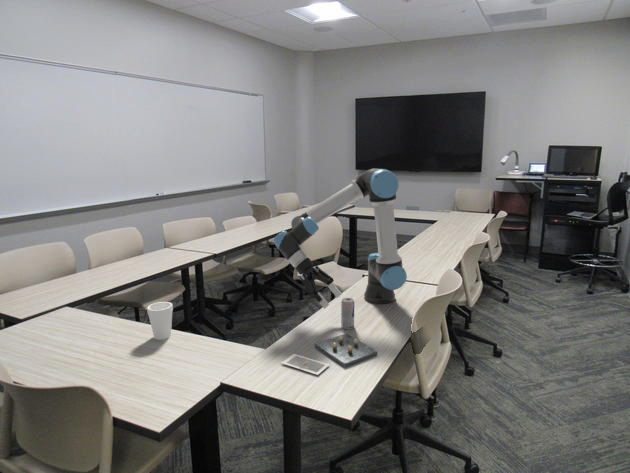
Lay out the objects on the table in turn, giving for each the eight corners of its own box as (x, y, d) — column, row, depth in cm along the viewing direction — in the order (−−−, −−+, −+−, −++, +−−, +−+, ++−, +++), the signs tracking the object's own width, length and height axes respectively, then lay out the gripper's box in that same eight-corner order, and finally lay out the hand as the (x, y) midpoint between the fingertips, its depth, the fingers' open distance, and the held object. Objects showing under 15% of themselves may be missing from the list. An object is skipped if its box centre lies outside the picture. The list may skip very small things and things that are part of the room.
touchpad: (294, 356, 152) (294, 350, 151) (329, 367, 144) (329, 361, 143) (281, 365, 145) (281, 360, 145) (317, 377, 137) (317, 371, 137)
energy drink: (355, 325, 176) (355, 298, 174) (352, 330, 171) (352, 303, 169) (343, 323, 178) (343, 297, 175) (339, 328, 173) (339, 301, 170)
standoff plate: (346, 337, 165) (346, 327, 164) (377, 355, 151) (377, 344, 150) (314, 347, 157) (314, 337, 156) (344, 367, 143) (344, 356, 142)
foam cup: (179, 333, 170) (177, 303, 167) (163, 343, 162) (160, 312, 159) (162, 329, 174) (159, 300, 171) (145, 338, 166) (141, 308, 163)
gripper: (308, 260, 190) (339, 296, 187) (281, 275, 168) (314, 316, 165) (319, 250, 187) (350, 287, 184) (292, 264, 165) (327, 306, 162)
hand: (333, 301), depth 174 cm, fingers open, 13 cm apart
